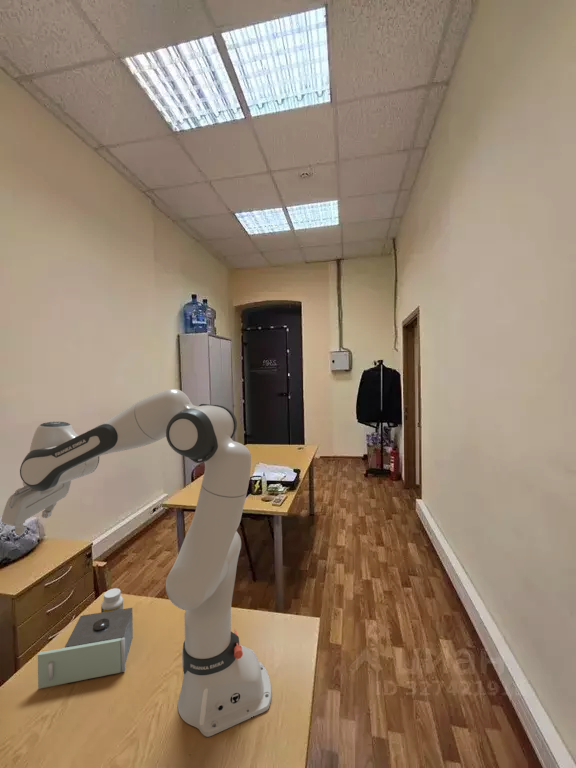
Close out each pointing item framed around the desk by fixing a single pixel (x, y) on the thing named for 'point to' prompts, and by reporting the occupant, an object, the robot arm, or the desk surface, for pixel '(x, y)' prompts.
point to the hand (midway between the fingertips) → (33, 524)
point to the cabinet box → (103, 628)
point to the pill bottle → (112, 600)
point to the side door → (81, 662)
